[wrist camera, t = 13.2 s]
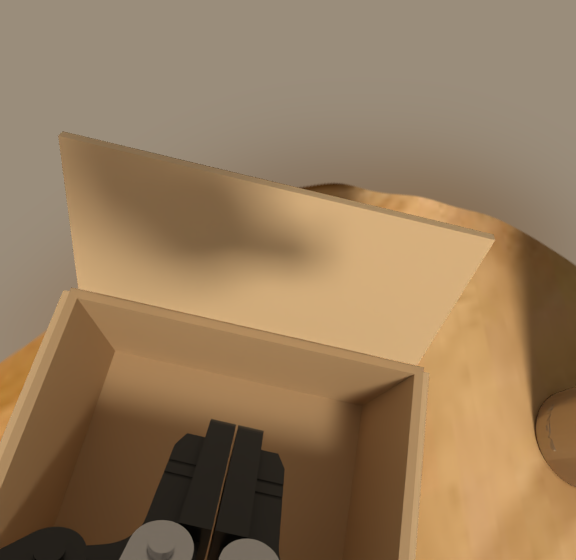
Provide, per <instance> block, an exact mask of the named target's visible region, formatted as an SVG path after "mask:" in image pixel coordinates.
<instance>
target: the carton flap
mask: <svg viewBox="0 0 576 560" xmlns="http://www.w3.org/2000/svg"><path fill="white" fill-rule="evenodd" d="M58 137H59V145H60V152H61V159H62V168H63V175H64V183H65V190H66V198H67V205H68V213H69V221H70V228H71V236H72V243H73V251H74V259H75V266H76V273H77V281H78V288H79V289H82V290H86V291H91V292H95V293H100V294H104V295H109V296H113V297H117V298H122V299H126V300H131V301H135V302H139V303H144V304H148V305H153V306H157V307H161V308H166V309H170V310H175V311H179V312H184V313H188V314H192V315H197V316H201V317H206V318H210V319H214V320H219V321H223V322H228V323H232V324H236V325H241V326H245V327H250V328H254V329H258V330H263V331H267V332H272V333H276V334H281V335H285V336H289V337H294V338H298V339H303V340H307V341H311V342H316V343H320V344H325V345H329V346H333V347H338V348H342V349H347V350H351V351H356V352H360V353H364V354H369V355H373V356H378V357H382V358H386V359H391V360H395V361H400V362H404V363H408V364H413V365H418V364H419V362H420V360H421V359H422V357H423V356H424V354H425V352H426V351H427V349H428V347H429V346H430V344H431V343H432V341H433V339H434V338H435V336H436V335H437V333H438V331H439V330H440V328H441V326H442V325H443V323H444V322H445V320H446V318H447V317H448V315H449V314H450V312H451V310H452V309H453V307H454V306H455V304H456V302H457V301H458V299H459V297H460V296H461V294H462V293H463V291H464V289H465V288H466V286H467V285H468V283H469V281H470V280H471V278H472V276H473V275H474V273H475V272H476V270H477V268H478V267H479V265H480V264H481V262H482V260H483V259H484V257H485V255H486V254H487V252H488V251H489V249H490V247H491V246H492V244H493V243H494V241H495V238H494V235H493V234H489V233H485V232H481V231H477V230H473V229H469V228H464V227H460V226H456V225H452V224H448V223H444V222H439V221H435V220H431V219H427V218H423V217H418V216H414V215H410V214H406V213H402V212H398V211H393V210H389V209H385V208H381V207H377V206H373V205H368V204H364V203H360V202H356V201H352V200H347V199H343V198H339V197H335V196H331V195H327V194H322V193H318V192H314V191H310V190H306V189H302V188H297V187H293V186H288V185H285V184H280V183H276V182H272V181H268V180H264V179H260V178H256V177H251V176H247V175H243V174H238V173H235V172H231V171H226V170H222V169H218V168H214V167H210V166H206V165H201V164H197V163H193V162H188V161H185V160H180V159H176V158H172V157H168V156H164V155H160V154H155V153H151V152H147V151H143V150H139V149H135V148H130V147H126V146H122V145H118V144H114V143H109V142H105V141H101V140H97V139H92V138H89V137H84V136H80V135H76V134H72V133H68V132H62V133H61V134H60V135H59V136H58Z"/></svg>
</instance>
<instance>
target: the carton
mask: <svg viewBox="0 0 576 560" xmlns="http://www.w3.org/2000/svg"><path fill="white" fill-rule="evenodd" d="M428 384H429V373H427V372H424V367H420V366H415V365H411V364H406V363H402V362H398V361H393V360H389V359H384V358H380V357H375V356H371V355H367V354H362V353H358V352H353V351H349V350H345V349H340V348H336V347H331V346H327V345H323V344H318V343H314V342H309V341H305V340H300V339H296V338H292V337H287V336H283V335H278V334H274V333H270V332H265V331H261V330H256V329H252V328H248V327H243V326H239V325H234V324H230V323H225V322H221V321H217V320H212V319H208V318H203V317H199V316H195V315H190V314H186V313H181V312H177V311H173V310H168V309H164V308H159V307H155V306H151V305H146V304H142V303H137V302H133V301H128V300H124V299H120V298H115V297H111V296H106V295H102V294H98V293H93V292H89V291H84V290H80V289H76V288H71V290H70V292H69V291H63V293H62V295H61V298H60V300H59V302H58V305H57V307H56V310H55V312H54V314H53V317H52V319H51V322H50V324H49V326H48V329H47V331H46V334H45V336H44V338H43V341H42V343H41V346H40V348H39V350H38V353H37V355H36V358H35V360H34V362H33V365H32V367H31V370H30V372H29V374H28V377H27V379H26V381H25V384H24V386H23V389H22V391H21V393H20V396H19V398H18V401H17V403H16V405H15V408H14V410H13V413H12V415H11V417H10V420H9V422H8V425H7V427H6V429H5V432H4V434H3V437H2V439H1V441H0V549H1V548H3V547H5V546H7V545H9V544H11V543H13V542H15V541H17V540H19V539H21V538H23V537H25V536H27V535H29V534H31V533H33V532H35V531H37V530H40V529H43V528H48V527H65V528H69V529H72V530H74V531H76V532H77V533H78V534H80V535H81V537H82V538H83V539H84V541H85V543H86V546H87V545H99V544H109V543H114V542H118V541H121V540H123V539H126V538H127V537H129V536H131V535H132V534H133V533H134V532H135V531H136V530H137V529H138V528H139V527H140V526H141V525H142V524H143V522H144V520H145V518H146V516H147V513H148V511H149V508H150V506H151V503H152V501H153V498H154V496H155V493H156V490H157V488H158V485H159V483H160V480H161V478H162V475H163V474H164V470H165V468H166V465H167V463H168V461H169V457H170V455H171V452H172V450H173V447H174V445H175V444H176V443H177V442H178V441H179V440H180V439H181V438H182V437H184V436H185V435H186V434H187V433H189V434H193V435H198V436H202V437H205V436H206V433H207V430H208V427H209V423H210V420H211V419H215V420H219V421H223V422H228V423H232V424H236V428H235V432H234V437H233V441H232V445H231V450H230V454H229V458H228V463H227V467H226V471H225V476H224V480H223V484H222V489H221V493H220V497H219V502H218V506H217V510H216V515H215V519H214V523H213V528H212V532H211V536H210V540H209V544H208V548H207V552H206V556H205V560H207V556H208V552H209V547H210V543H211V539H212V534H213V530H214V525H215V521H216V517H217V512H218V508H219V503H220V499H221V495H222V490H223V486H224V482H225V477H226V473H227V469H228V465H229V461H230V457H231V453H232V449H233V445H234V441H235V437H236V433H237V429H238V425H241V426H246V427H250V428H254V429H259V430H263V431H264V433H263V440H262V447H261V450H264V451H268V452H273V453H277V454H279V457H280V459H281V461H282V464H283V466H284V469H285V471H284V485H283V498H282V512H281V525H280V539H279V556H280V560H415V558H416V545H417V531H418V518H419V505H420V491H421V478H422V464H423V451H424V437H425V424H426V411H427V397H428Z"/></svg>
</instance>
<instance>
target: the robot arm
mask: <svg viewBox="0 0 576 560" xmlns="http://www.w3.org/2000/svg"><path fill="white" fill-rule="evenodd" d="M235 428H236V424H232V423H228V422H223V421H219V420H215V419H211V420H210V423H209V427H208V430H207V433H206V436H205V437H202V436H198V435H193V434H189V433H187V434H186V435H185V436H184V437H182V438H181V439H180V440H179V441H178V442H177V443H176V444H175V445H174V447H173V450H172V452H171V455H170V457H169V461H168V463H167V465H166V468H165V470H164V474H163V475H162V478H161V480H160V483H159V485H158V488H157V490H156V493H155V496H154V498H153V501H152V503H151V506H150V508H149V511H148V513H147V516H146V518H145V520H144V522H143V524H142V525H141V526H140V527H139V528H138V529H137V530H136V531H135V532H134V533H133V534H132V535H131V536H129V537H127V538H126V539H123V540H121V541H118V542H114V543H109V544H99V545H87V546H86V543H85V541H84V539H83V538H82V537H81V535H80V534H78V533H77V532H76V531H74V530H72V529H69V528H65V527H48V528H43V529H40V530H37V531H35V532H33V533H31V534H29V535H27V536H25V537H23V538H21V539H19V540H17V541H15V542H13V543H11V544H9V545H7V546H5V547H3V548H1V549H0V560H205V556H206V552H207V548H208V544H209V540H210V536H211V532H212V528H213V523H214V519H215V515H216V510H217V506H218V502H219V497H220V493H221V489H222V484H223V480H224V476H225V471H226V467H227V463H228V458H229V454H230V450H231V445H232V441H233V437H234V432H235ZM263 433H264V431H263V430H259V429H254V428H250V427H246V426H241V425H238V429H237V433H236V437H235V441H234V445H233V449H232V453H231V457H230V461H229V465H228V469H227V473H226V477H225V482H224V486H223V490H222V495H221V499H220V503H219V508H218V512H217V517H216V521H215V525H214V530H213V534H212V539H211V543H210V547H209V552H208V556H207V560H280V556H279V539H280V525H281V512H282V498H283V485H284V471H285V469H284V466H283V464H282V461H281V459H280V457H279V454H277V453H273V452H268V451H264V450H261V447H262V440H263ZM536 435H537V441H538V444H539V447H540V450H541V452H542V454H543V457H544V459H545V460H546V462H547V463H548V465H549V466H550V467H551V469H552V470H553V471H554V472H555V473H556V474H557V475H558V476H559V477H560V478H561V479H563V480H564V481H565V482H567V483H568V484H570V485H572V486H574V487H576V387H574V388H571V389H568V390H564V391H561V392H558V393H556V394H554V395H552V396H550V397H549V398H548V399H547V400H546V401H545V402H544V403H543V405H542V406H541V408H540V410H539V413H538V416H537V421H536Z"/></svg>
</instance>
